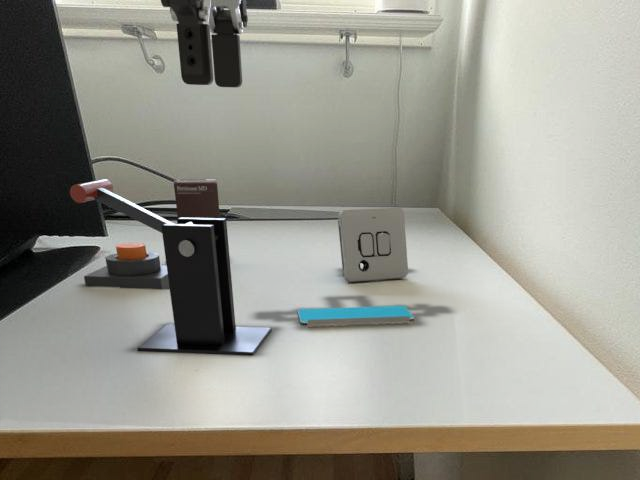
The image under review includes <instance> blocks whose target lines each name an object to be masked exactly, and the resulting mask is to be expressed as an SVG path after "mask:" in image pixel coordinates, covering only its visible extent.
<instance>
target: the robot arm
mask: <svg viewBox="0 0 640 480" xmlns="http://www.w3.org/2000/svg"><path fill="white" fill-rule="evenodd" d="M160 3H161V5H162V7H163V8H169V14H170V16H171V19H172V21H173V22H177V23H176V24H175V25H176V33H177V43H178V44H177V45H178V55H179V65H180V74H181V75H180V76H181V80H182V82H183V83H184V84H186V85H189V86H190V85H191V86H194V85H195V86H210V85H211V84H213V82H214V83H215V84H216V86H218V87H219V88H240V87H241V86H242V85H243V71H242V70H243V69H242V68H243V67H242V52H241V36H240V35H242V34H243V29H244V28H247V27H248V22H249V17H248V12H247V0H160ZM225 8H226V9H225ZM204 22H205V23H204ZM206 22H208V24H207V23H206Z"/></svg>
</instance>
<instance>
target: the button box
mask: <svg viewBox="0 0 640 480" xmlns="http://www.w3.org/2000/svg"><path fill="white" fill-rule="evenodd" d="M146 254H147V258H142V259H131V260H128V259H118V256H117V252H116V253H112V254H109V255H107V256H105V258H104V259H105V264H106V265H105V266H103V267H100V268H99V269H97V270H94V271H91V272H90V273H88V274H86V275H84V276H83V279H84V285H85V287H106V288H119V289H145V290H146V289H149V290H170V288H169V280H168V273H167V265H166V264H161V261H160V255H159V254H158V253H157V252H151V251H146Z"/></svg>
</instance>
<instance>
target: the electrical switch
mask: <svg viewBox="0 0 640 480" xmlns="http://www.w3.org/2000/svg"><path fill="white" fill-rule="evenodd" d="M337 217H338V219H337V225H338V227H337V228H338V236H339V238H338V239H339V247H340V257H341V268H342V278H343V279H344V280H345V282H347V283H361V282H362V283H363V282H372V281H373V282H374V281H386V280H398V279H404V278H406V277H407V276H408V274H409V265H408V264H409V263H408V250H407V235H406V221H405V220H406V219H405V212H404V209H403V208H401V207H387V208H386V207H385V208H383V207H382V208H365V209H363V208H362V209H343V210H341V211H340V212H339V213H338V215H337ZM361 264H362V266H361ZM361 267H362V268H361Z"/></svg>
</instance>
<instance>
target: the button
mask: <svg viewBox="0 0 640 480" xmlns="http://www.w3.org/2000/svg"><path fill="white" fill-rule="evenodd" d="M115 249H116V253H117V256H118V259H128V260H131V259H142V258H147V254H146V252H147V248H146V244H145V243H142V242H141V243H140V242H126V243H120V244H116V245H115Z"/></svg>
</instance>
